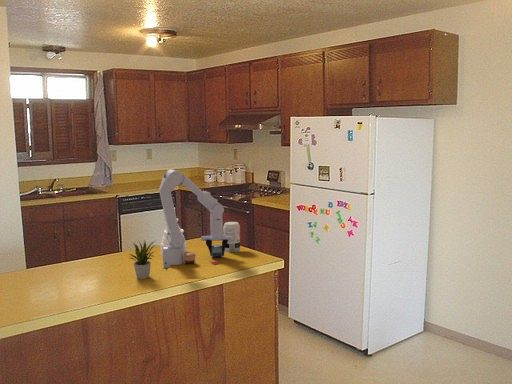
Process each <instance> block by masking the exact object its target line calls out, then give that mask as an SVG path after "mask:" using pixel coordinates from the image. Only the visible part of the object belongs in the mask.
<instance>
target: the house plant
mask: <svg viewBox="0 0 512 384" xmlns="http://www.w3.org/2000/svg"><path fill="white" fill-rule="evenodd" d="M155 242H157V240H154V241H151V243H149V245H147V242H146V240H144V241H143V245H142V243H141V241H138V243H139V246H138V245H137V244H136V243H135V242H132V244H133V246H134V253H135V255H134V254H132V253H128V255H130V257H129V259H131V260H134V261H135V262H134V263H133V267H134V272H135V276H136V279H138V280H144V279H148V278H149V277H150V272H151V261H150V260H153V258H154V257H155V255H154V252H156V250H154V251H152V249H154V247H157V244H154V243H155ZM153 244H154V245H153ZM125 247H127V248H128V246H126V245H125ZM139 247H140V248H139ZM150 247H151V248H150ZM129 249H130V250H132V248H131V247H129ZM151 251H152V252H151Z"/></svg>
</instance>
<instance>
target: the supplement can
mask: <svg viewBox="0 0 512 384" xmlns="http://www.w3.org/2000/svg"><path fill="white" fill-rule="evenodd" d="M223 235H224V236H232V241H228V242H227V245H226V247H225V251H224V253H225V252H226V253H229V252H230V253H232V252H233V253H234V252H235V253H236V252H241V225H240V224H239V222H238V221H226V222H224V224H223Z"/></svg>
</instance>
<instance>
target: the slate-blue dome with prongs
mask: <svg viewBox="0 0 512 384" xmlns="http://www.w3.org/2000/svg"><path fill="white" fill-rule="evenodd" d="M216 257H220V258H221V259H223V257H224V256H222V244H212V256H211V259H213V258H216Z"/></svg>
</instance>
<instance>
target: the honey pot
mask: <svg viewBox="0 0 512 384" xmlns="http://www.w3.org/2000/svg"><path fill="white" fill-rule="evenodd" d="M176 218H177V217H176ZM177 222H179V218H177ZM178 226H179V229H180V231H181V235H182V236H183V237H184V239H185V242H184V244H183V245H184V253H188V245H187V244H188V243H187V241H186V238H185V235H184V233H185V230H184V229H183V228H181V226H180V225H179V224H178ZM168 244H169V242H168V240H167V227H166V228H165V229H164V230H163V236H162V239H161V243H160V255H161V256H162V257H163V248H164V247H168Z"/></svg>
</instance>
